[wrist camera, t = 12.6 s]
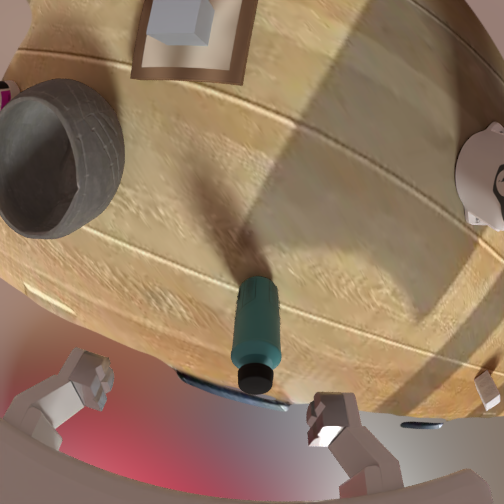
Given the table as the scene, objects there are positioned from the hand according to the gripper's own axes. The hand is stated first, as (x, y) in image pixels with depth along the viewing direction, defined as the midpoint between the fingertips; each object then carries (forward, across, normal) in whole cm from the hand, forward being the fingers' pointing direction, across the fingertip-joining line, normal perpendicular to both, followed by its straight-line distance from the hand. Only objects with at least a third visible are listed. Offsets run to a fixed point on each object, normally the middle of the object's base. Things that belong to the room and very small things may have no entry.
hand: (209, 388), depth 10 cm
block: (+29, +10, -19) cm, 36 cm away
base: (+33, +10, -19) cm, 39 cm away
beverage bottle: (+33, -4, +18) cm, 38 cm away
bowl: (+33, +26, -2) cm, 42 cm away
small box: (+33, -80, +44) cm, 97 cm away
